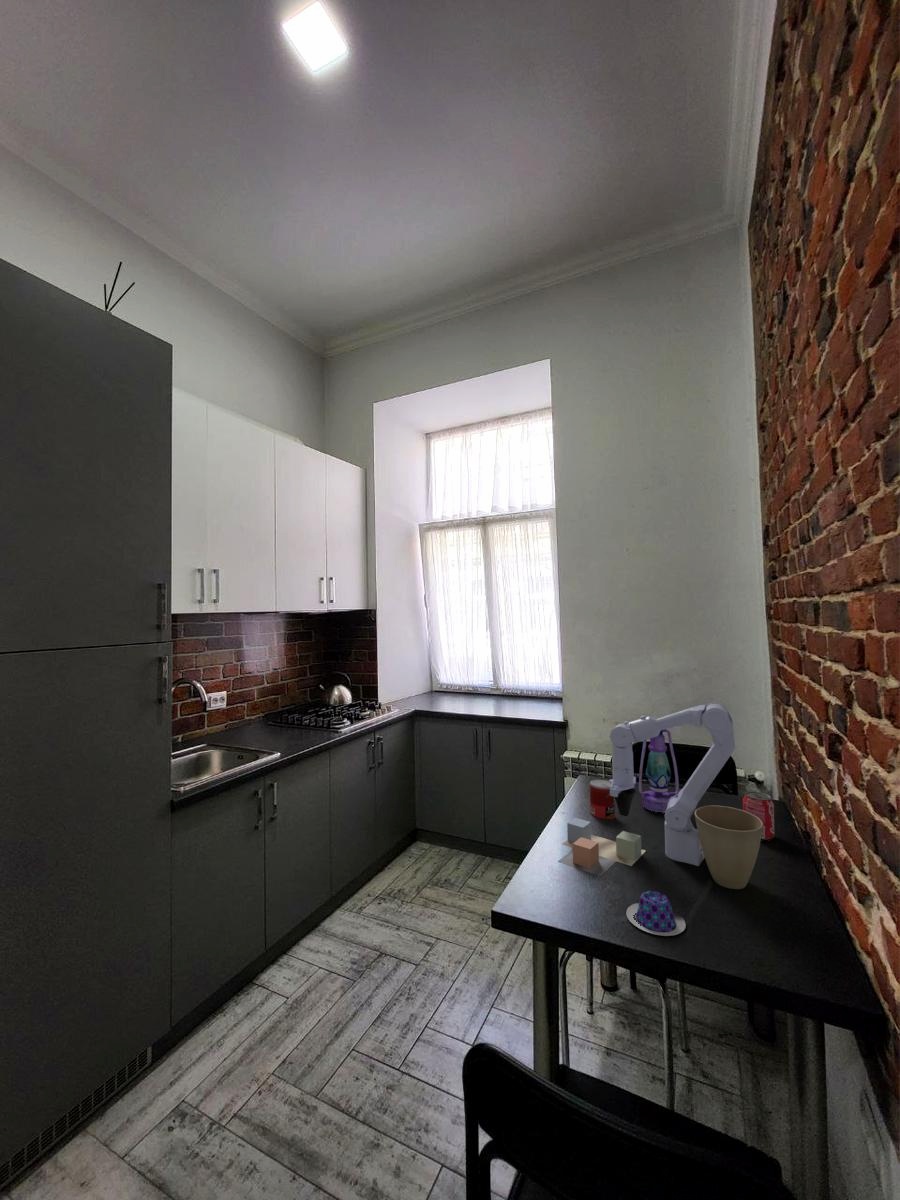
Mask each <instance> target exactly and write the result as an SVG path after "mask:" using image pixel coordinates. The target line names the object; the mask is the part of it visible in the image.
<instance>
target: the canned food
mask: <svg viewBox="0 0 900 1200" xmlns="http://www.w3.org/2000/svg"><path fill="white" fill-rule="evenodd" d="M611 786H612V784H611V783H609V780H606V779H594V780H590V782H589V807H590V808H589V809H590V812H589V813H590V815H591V816H593V817H594V818H597V819H603V820H604V819H606V820H608V819H609V820H611V821H614V820H615V819H616V800H615V798H614V796H610V788H611ZM613 819H614V820H613Z"/></svg>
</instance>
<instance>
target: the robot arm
mask: <svg viewBox="0 0 900 1200" xmlns="http://www.w3.org/2000/svg"><path fill="white" fill-rule="evenodd" d="M688 724H689V725H693V726H695V727H698V728H702V724H703V726H704V728H705V729H706V730H707V731H708V732H709V734H710V737H711V739H712V742H713V743H712V745H711V747H710V748H709V749H708V751H707V752H706V754H705V755H704V756H703V758H702V760H701V761H700V762H699V763H698V766H697V767H696V768H695V770H694V771H693V773H692V774H691V776H690V777H689V778H688V780H687V781H686V782H685V784H684V786H683V787H682V788H681V789H679V793H678V794H677V795H675V796H673V797H671V798H670V799H669V801H668V804H667V810H666V811H665V814H664V850H665V851H664V853H665V856H666V857H667V858H669V859H670V860H672V861H675V862H681V863H686V864H689V865H694V866H696V867H699V866H700V865H701V864H702V862H703V861H704V859H705V857H704V853H703V850H702V847H701V843H700V839H699V835H698V830H697V828H695V827H694V824H693V822H692V820H691V817H692V815H693V813H695V810H696V809H697V805H698V804H699V801H700V800H701V799H702V797H703V796H704V795H705V793H706V792H707V790H708V789H709V787H710V785H712V783H713V781H714V780H715V778H717V776H718V775H719V773H720V771H721V770H722V769H723V767H724V766H725V764H726V763H727V762H728V760H729V759H730V757H732V756H731V755H732V754H733V753H734V751H735V750H736V743H735V742H736V741H735V732H734V725H733V724H734V723H733V718H732V716H731V714H730V712H729V710H728V709H727V707H726V706H725V705H724V704H722V703H719V702H711V703H708V704H700V705H697V706H696V705H695V706H692V707H688V708H685V709H683V710H680V711H676V712H673V713H670V714H668V715H664V716H661V717H659V718H655V717H653V716H649V715H648V716H646V715H641V716H640V717H639V718H638V719H635V720H632V721H628V720H626V721H624V723H619V724H616V725H615V726H614V727H613V728H612V730H611V732H610V734H609V739H610V742H611V744H612V745H611V746H612V750H611V760H612V763H611V764H612V778H611V779H609V780H608V781H609V783H611V784H612V786H611V788H610V796H614V798H615V804H616V806H617V811H618V814H619V815H620V816H623V817H628V816H629V815H630V810H631V806H632V801H633V799H634V796H635V794H636V789H635V787H636V786H635V785H636V784H637V777H636V776H634V752H633V743H638V742H643V740H646V739H647V740H650V738H653V737H657V736H658V735H659V733H660V731H661V730H664V729H667V730H668V729H671V728H675V727H676V728H677V727H681V726H684V725H688ZM647 740H646V741H647Z"/></svg>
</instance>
